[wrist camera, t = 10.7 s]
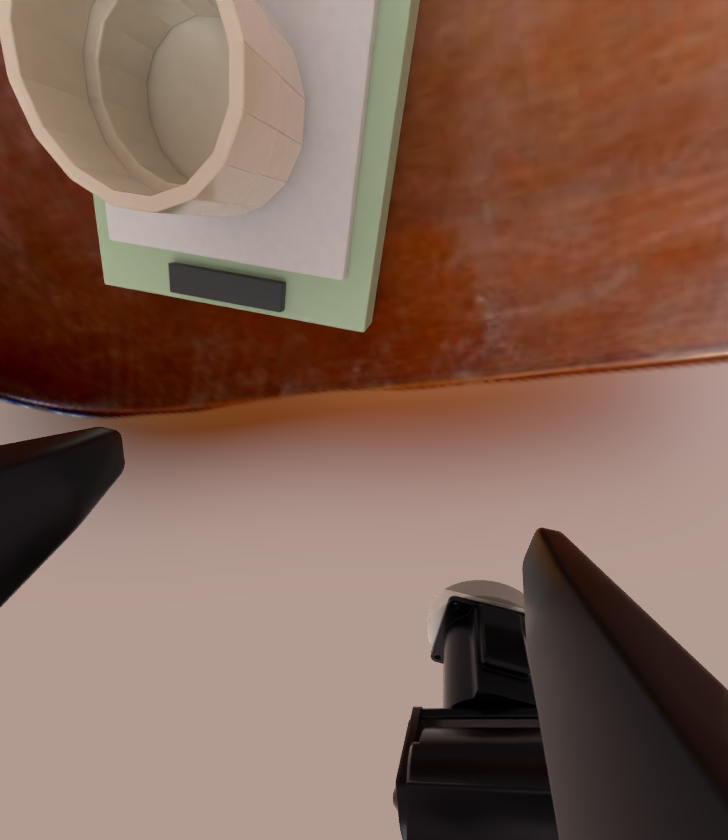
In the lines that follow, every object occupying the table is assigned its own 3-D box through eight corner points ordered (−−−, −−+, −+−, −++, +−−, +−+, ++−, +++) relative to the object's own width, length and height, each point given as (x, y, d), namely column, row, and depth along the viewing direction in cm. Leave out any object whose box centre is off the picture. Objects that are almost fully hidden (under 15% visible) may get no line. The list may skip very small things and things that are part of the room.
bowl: (302, 228, 15) (242, 227, 11) (145, 202, 16) (28, 192, 12) (317, 0, 13) (246, -127, 8) (126, -20, 13) (-36, -146, 9)
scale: (371, 323, 19) (361, 336, 17) (134, 279, 20) (93, 285, 18) (425, -33, 14) (420, -86, 11) (100, -62, 15) (35, -116, 13)
